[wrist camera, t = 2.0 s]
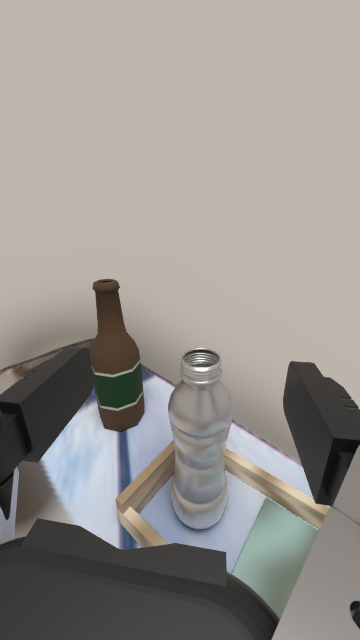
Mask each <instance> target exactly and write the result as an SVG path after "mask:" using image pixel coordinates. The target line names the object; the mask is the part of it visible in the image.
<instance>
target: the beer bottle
mask: <svg viewBox="0 0 360 640" xmlns="http://www.w3.org/2000/svg"><path fill="white" fill-rule="evenodd" d="M119 288H120V287H119V284H118V282H117V281H116V280H113V279H104V280H98V281H96V282H94V283H93V290H94V291H95V293H96V306H97V318H98V334H97V336H96V338H95V340H94V341H93V343H92V346H91V350H90V359H91V365H92V372H93V378H94V386H95V392H96V398H97V404H98V409H99V413H100V417H101V420H102V422H103V425H104V427H105V428H106V429H110V430H115V431H120V432H121V431H124V430H126V429H129V428H131V427H133V426H136V425H137V424H138V422H139V420H140V419H141V417H142V415H143V413H144V396H143V385H142V373H141V361H140V355H139V350H138V348H137V346H136V343H135V341H134V340H133V339H132V338H131V337H130V335H129V334H128V333H127V332H126V329H125V326H124V321H123V316H122V310H121V304H120V299H119V293H118V289H119Z"/></svg>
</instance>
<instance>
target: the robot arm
mask: <svg viewBox="0 0 360 640" xmlns="http://www.w3.org/2000/svg"><path fill="white" fill-rule="evenodd" d="M93 385H94V378H93V372H92V365H91V359H90V353H89V350H88V349H87V348H85V347H66V348H65V349H63V350H62V351H61V352H60V353H58V354H57V355H56V356H55V357H53V358H52V359H50V360H47V361H45V362H43V363H41V364H40V365H39V366H37V367H36V368H35V369H33V370H32V372H29V373H28V374H27V375H26V376H24V377H23V379H20V380H19V381H18V382H16V383H15V384H14V385H12V386H11V387H10V388H9V389H7V390H6V391H5V392H3V393H2V394H1V395H0V640H360V410H359V409H358V406H357V405H356V403H355V402H354V401H353V400H351V397H350V395H349V394H348V393H347V391H346V390H345V389H344V387H342V386H341V385H340V384H338V383H337V382H335V381H334V380H333V379H331V378H327V377H323V375H322V374H321V372H320V371H319V370H318V368H317V367H316V365H315V364H314V363H310V362H294V361H292V362H290V364H289V367H288V373H287V378H286V384H285V390H284V397H283V407H284V413H285V416H286V419H287V422H288V424H289V428H290V431H291V434H292V436H293V439H294V442H295V445H296V448H297V451H298V454H299V457H300V460H301V463H302V466H303V469H304V472H305V475H306V478H307V481H308V483H309V486H310V489H311V492H312V495H313V498H314V501H315V504H321V505H328V506H330V508H329V510H328V512H327V514H326V516H325V519H324V521H323V523H322V525H321V528H320V530H319V532H318V535H317V537H316V539H315V541H314V544H313V546H312V548H311V551H310V553H309V555H308V557H307V560H306V562H305V564H304V567H303V569H302V571H301V573H300V576H299V578H298V580H297V583H296V585H295V587H294V589H293V592H292V594H291V596H290V599H289V601H288V603H287V605H286V608H285V610H284V612H283V615H282V617H281V619H279V617H278V616H277V615H276V613H275V612H274V611H273V610H272V609H271V607H270V606H269V605H268V604H267V603H266V602H265V601H264V600H263V598H262V597H260V596H259V595H258V594H257V593H256V592H255V591H254V590H253V589H252V588H251V587H250V586H248V585H247V584H245V583H244V582H243V581H241V580H240V579H239V578H237V577H236V576H234V575H232V574H230V573H228V572H227V571H226V552H222V551H217V550H211V549H205V548H200V547H194V546H189V545H183V544H178V543H173V544H166V545H158V546H151V547H144V548H137V549H129V550H121V549H118V548H116V547H114V546H113V545H111V544H109V543H108V542H106V541H104V540H103V539H101V538H99V537H97V536H96V535H94V534H92V533H91V532H89V531H87V530H86V529H84V528H82V527H81V526H77V525H71V524H66V523H60V522H55V521H49V520H44V519H37V520H36V522H35V524H34V525H33V526H32V528H31V530H30V531H29V533H28V534H27V536H26V537H21V538H17V539H15V516H16V503H17V490H18V477H19V472H18V469H17V466H18V465H19V463H20V462H21V461H29V462H36V463H37V462H38V461H39V460H40V459H41V458H42V456H43V455H44V454H45V452H46V451H47V450H48V449H49V447H50V446H51V445H52V443H53V442H54V441H55V439H56V438H57V437H58V436H59V434H60V433H61V432H62V430H63V429H64V428H65V427H66V425H67V424H68V423H69V421H70V420H71V419H72V417H73V416H74V415H75V414H76V412H77V411H78V410H79V408H80V407H81V406H82V405H83V403H84V402H85V401H86V399H87V398H88V397H89V396H90V394H91V392H92V390H93Z"/></svg>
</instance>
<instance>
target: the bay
mask: <svg viewBox="0 0 360 640" xmlns="http://www.w3.org/2000/svg"><path fill="white" fill-rule="evenodd" d="M175 457H176V456H175V446H174V441H173V442H172V443H171V444H170V445H169V446H168V447H167V448H166V449H165V450H164V451H163V452H162V453H161V454H160V455H159V456H158V457H157V458H156V459H155V460H154V461H153V462H152V463H151V464H150V465H149V466H148V467H147V468H146V469H145V470H144V471H143V472H142V473H141V474H140V475H139V476H138V477H137V478H136V479H135V480H134V481H133V482H132V483H131V484H130V485H129V486H128V487H127V488H126V489H125V490H124V491H123V492H122V493H121V494H120V495H119V496H118V497H117V498H116V504H117V510H118V516H119V522H120V524H121V525H122V526H123V527H124V528H125V529H126V530H127V531H128V532H129V533H130V535H131V536H132V537H133V538H134V539H135V540H136V541H137V542H138V543H139V544H140V545H141V547H142V548H144V547H151V546H158V545H166V544H168V543H167V542H166V541H165V540H164V539H163V538H162V537H161V536H160V535H159V534H158V533H157V532H156V531H155V530H154V529H153V528H152V527H151V526H150V525H149V524H148V523H147V522H146V521H145V520H144V519H143V518H142V517H141V516H140V515H139V513H140V512H141V510H142V509H143V508H144V507H145V506H146V505H147V503H148V502H149V501H150V500H151V499H152V498H153V497H154V495H155V494H156V493H157V492H158V491H159V490H160V488H161V487H162V486H163V485H164V484H165V483H166V482H167V480H168V479H169V478H170V477H171V476H172V475H173V473H174V470H175ZM224 465H225V470H227V471H229V472H230V473H232V474H233V475H235V476H236V477H238V478H240V479H241V480H243V481H244V482H246V483H247V484H249V485H251V486H252V487H254V488H255V489H257V490H258V491H260V492H262V493H263V494H265V495H266V496H268V497H269V498H271V499H272V500H274V501H276V502H277V503H279V504H280V505H282V506H283V507H285V508H287V509H288V510H290V511H291V512H293V513H294V514H296V515H298V516H299V517H301V518H302V519H304V520H305V521H307V522H309V523H310V524H312V525H313V526H315V527H316V528H318V529H320V528H321V525H322V523H323V521H324V519H325V516H326V514H327V512H328V510H329V508H327V507H326V506H324V505H321V504H315V501H314V499H312V498H310V497H309V496H307V495H305V494H303V493H302V492H300V491H298V490H296V489H295V488H293V487H291V486H290V485H288V484H286V483H284V482H283V481H281V480H279V479H278V478H276V477H274V476H272V475H271V474H269V473H267V472H265V471H264V470H262V469H260V468H259V467H257V466H255V465H253V464H252V463H250V462H248V461H247V460H245V459H243V458H241V457H240V456H238V455H236V454H234V453H233V452H231V451H229V450H228V449H225V457H224ZM318 532H319V531H318V530H316V529H315V528H313V527H312V526H310V525H308V524H307V523H305V522H304V521H302V520H301V519H299V518H298V517H296V516H294V515H293V514H291V513H290V512H288V511H287V510H285V509H284V508H282V507H280V506H279V505H277V504H276V503H274V502H273V501H271V500H270V499H268V498H266V500H265V502H264V504H263V506H262V508H261V511H260V513H259V515H258V517H257V519H256V522H255V524H254V526H253V528H252V530H251V533H250V535H249V537H248V539H247V541H246V544H245V546H244V548H243V550H242V552H241V555H240V557H239V559H238V561H237V563H236V566H235V568H234V570H233V572H232V575H234V576H236V577H237V578H239V579H240V580H241V581H243V582H244V583H245V584H247V585H248V586H250V587H251V588H252V589H253V590H254V591H255V592H256V593H257V594H258V595H259V596H260V597H262V598H263V600H264V601H265V602H266V603H267V604H268V605H269V606H270V607H271V609H272V610H273V611H274V612H275V613H276V615H277V616H278V617H279V619H281V617H282V615H283V612H284V610H285V608H286V605H287V603H288V601H289V599H290V596H291V594H292V592H293V589H294V587H295V585H296V583H297V580H298V578H299V576H300V573H301V571H302V569H303V567H304V564H305V562H306V560H307V557H308V555H309V553H310V551H311V548H312V546H313V544H314V541H315V539H316V537H317V535H318Z"/></svg>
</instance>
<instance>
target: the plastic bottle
mask: <svg viewBox="0 0 360 640" xmlns="http://www.w3.org/2000/svg"><path fill="white" fill-rule="evenodd" d="M180 373H181V378H182V380H181V381H180V382H179V383H178V384H177V386H176V387H175V389H174V390H173V392H172V394H171V397H170V400H169V404H168V411H169V418H170V423H171V427H172V432H173V437H174V446H175V456H176V457H175V470H174V475H173V480H172V487H171V498H172V503H173V506H174V510H175V512H176V514H177V516H178V518H179V519H180V520H181V521H182V522H183V523H184V524H185V525H187V526H189V527H191V528H194V529H206V528H209V527H211V526H213V525H214V524H216V523H217V522H218V521H219V520H220V518H221V516H222V515H223V512H224V509H225V506H226V503H227V498H228V490H227V482H226V477H225V465H224V457H225V449H226V442H227V437H228V433H229V429H230V425H231V421H232V417H233V410H234V406H233V401H232V398H231V395H230V393H229V391H228V390H227V388H226V387H225V385H224V384H223V383H222V382H221V380H220V379H221V377H222V370H221V357H220V355H219V353H217V352H216V351H214V350H211V349H207V348H195V349H191V350H188V351H186V352H185V353H184V354H183V355H182V357H181V370H180Z"/></svg>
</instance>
